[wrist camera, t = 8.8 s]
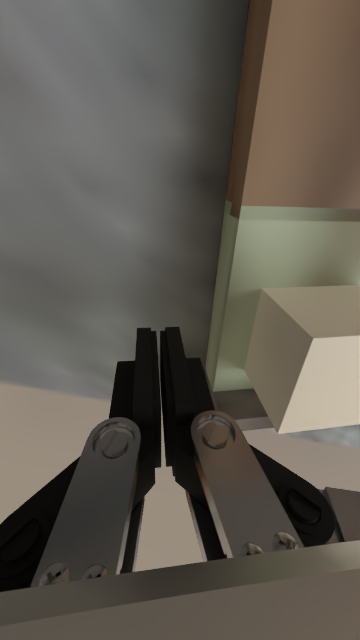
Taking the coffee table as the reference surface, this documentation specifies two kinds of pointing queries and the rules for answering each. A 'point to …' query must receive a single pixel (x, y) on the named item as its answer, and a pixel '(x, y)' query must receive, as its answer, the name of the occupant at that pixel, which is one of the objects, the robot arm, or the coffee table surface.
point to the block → (307, 356)
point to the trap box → (286, 179)
